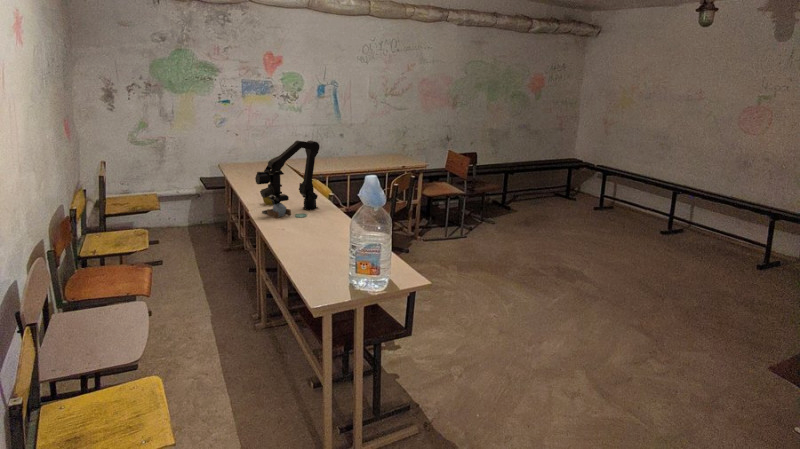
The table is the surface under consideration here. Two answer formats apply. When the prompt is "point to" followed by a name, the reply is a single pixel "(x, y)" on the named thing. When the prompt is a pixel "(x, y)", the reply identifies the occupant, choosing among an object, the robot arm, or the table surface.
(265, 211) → the tray
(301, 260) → the table surface
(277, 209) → the block
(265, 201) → the flower pot
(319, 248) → the table surface
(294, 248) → the table surface
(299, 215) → the coaster
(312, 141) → the robot arm
